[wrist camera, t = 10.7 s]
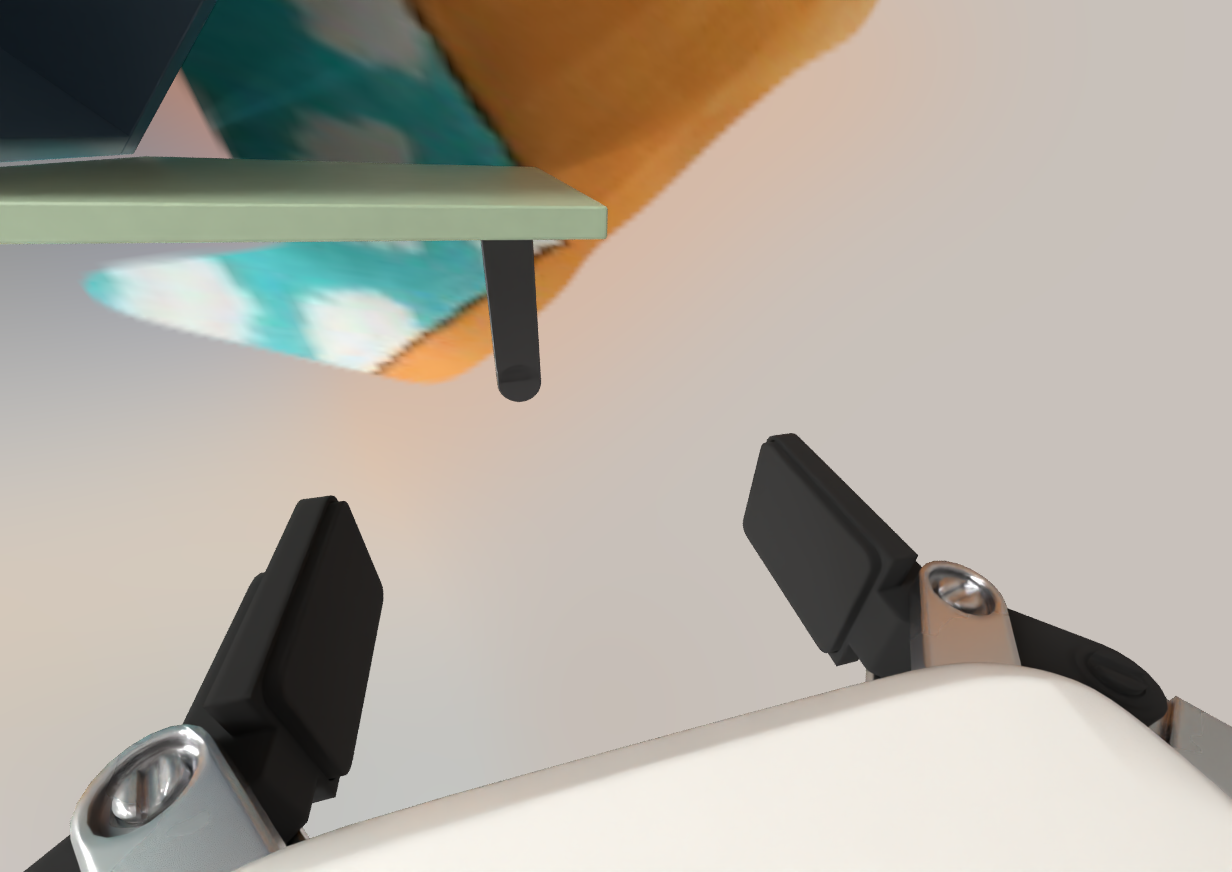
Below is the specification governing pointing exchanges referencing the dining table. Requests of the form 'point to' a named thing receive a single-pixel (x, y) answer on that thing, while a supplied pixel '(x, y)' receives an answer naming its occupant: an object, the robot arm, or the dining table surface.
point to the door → (318, 218)
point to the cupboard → (88, 72)
